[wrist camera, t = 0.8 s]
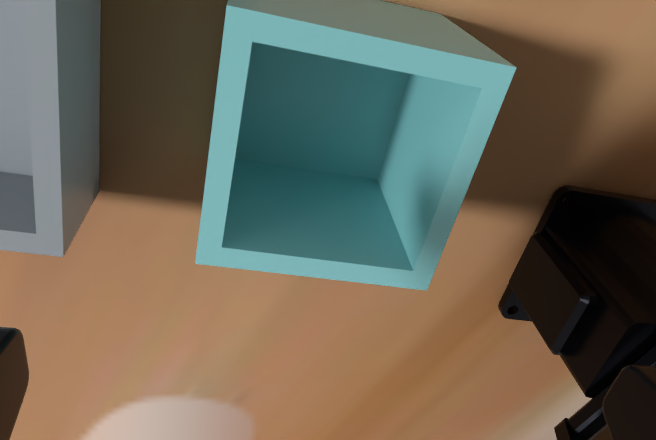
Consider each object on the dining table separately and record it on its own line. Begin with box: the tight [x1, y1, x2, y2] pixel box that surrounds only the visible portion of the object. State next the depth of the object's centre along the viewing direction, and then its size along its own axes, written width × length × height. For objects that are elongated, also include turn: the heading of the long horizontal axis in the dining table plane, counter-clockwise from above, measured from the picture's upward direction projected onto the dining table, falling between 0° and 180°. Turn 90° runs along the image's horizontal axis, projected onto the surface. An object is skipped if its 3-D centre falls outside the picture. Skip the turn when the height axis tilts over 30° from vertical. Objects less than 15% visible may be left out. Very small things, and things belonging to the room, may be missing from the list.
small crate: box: [195, 0, 517, 290], centre depth 15 cm, size 6×6×6 cm
